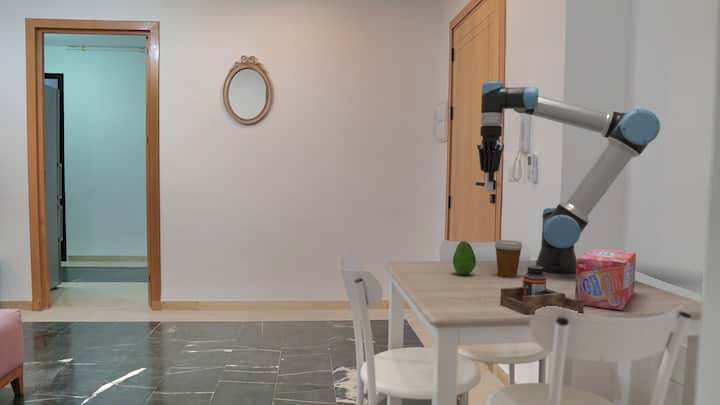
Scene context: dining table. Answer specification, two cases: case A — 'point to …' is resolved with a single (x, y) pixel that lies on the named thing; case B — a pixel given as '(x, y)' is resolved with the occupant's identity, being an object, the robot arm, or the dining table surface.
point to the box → (605, 278)
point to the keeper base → (536, 301)
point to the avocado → (464, 258)
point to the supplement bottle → (534, 281)
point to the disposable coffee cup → (507, 257)
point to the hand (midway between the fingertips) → (488, 190)
